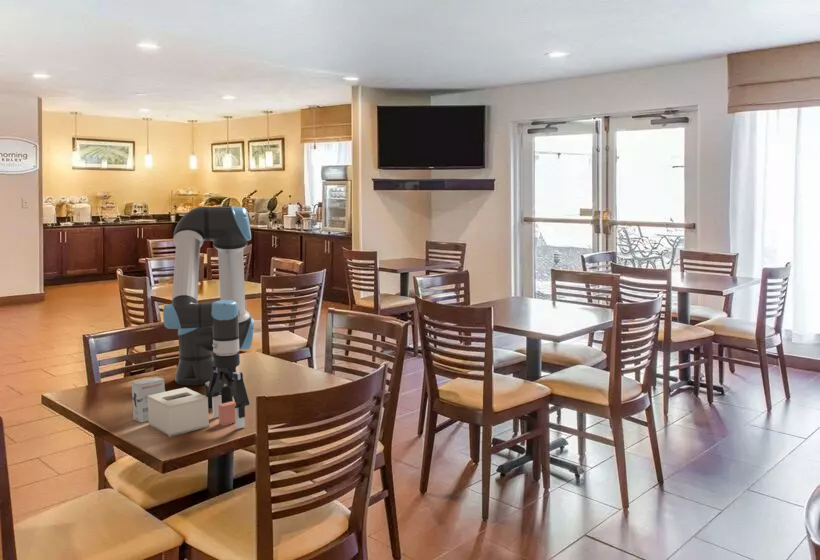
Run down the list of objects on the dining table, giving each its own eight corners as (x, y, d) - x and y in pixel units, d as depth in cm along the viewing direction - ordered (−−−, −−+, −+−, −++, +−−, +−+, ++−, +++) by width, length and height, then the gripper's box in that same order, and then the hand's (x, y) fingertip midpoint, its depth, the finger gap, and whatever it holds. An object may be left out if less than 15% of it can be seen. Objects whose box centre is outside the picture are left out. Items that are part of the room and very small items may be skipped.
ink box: (158, 412, 217) (156, 375, 215) (167, 415, 214) (165, 378, 212) (132, 419, 210) (130, 381, 209) (141, 423, 207) (138, 384, 206)
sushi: (236, 405, 224) (235, 381, 223) (210, 409, 219) (209, 385, 218) (228, 398, 231) (227, 375, 230) (203, 403, 226) (202, 379, 225)
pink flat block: (219, 423, 207) (218, 404, 206) (234, 419, 210) (233, 400, 209) (223, 425, 205) (222, 406, 204) (238, 421, 208) (237, 402, 208)
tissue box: (148, 424, 206) (147, 395, 204) (186, 415, 214) (185, 387, 213) (170, 436, 196) (168, 406, 195) (208, 426, 204) (207, 397, 203)
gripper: (194, 347, 211) (197, 415, 214) (236, 362, 193) (239, 435, 196) (216, 344, 216) (219, 409, 219) (260, 358, 198) (262, 429, 201)
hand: (228, 422), depth 207 cm, fingers open, 13 cm apart
